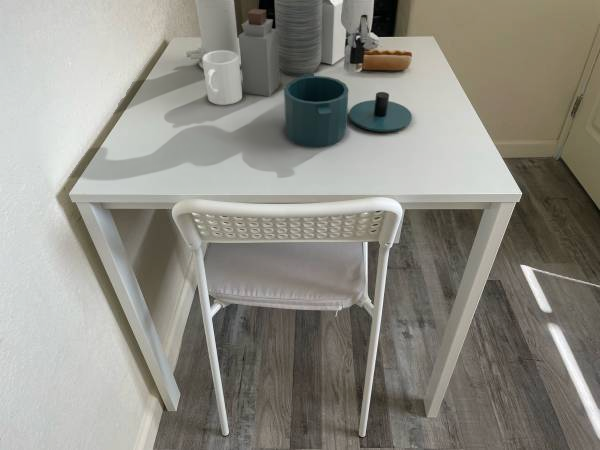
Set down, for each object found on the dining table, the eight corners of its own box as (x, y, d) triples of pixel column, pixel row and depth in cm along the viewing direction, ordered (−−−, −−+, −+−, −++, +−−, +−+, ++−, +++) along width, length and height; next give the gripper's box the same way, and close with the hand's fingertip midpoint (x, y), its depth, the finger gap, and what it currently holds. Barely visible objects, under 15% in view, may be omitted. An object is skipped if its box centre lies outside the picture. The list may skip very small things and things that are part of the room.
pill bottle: (360, 73, 110) (364, 41, 105) (342, 72, 110) (345, 39, 105) (362, 66, 113) (365, 34, 108) (344, 65, 114) (347, 33, 109)
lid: (358, 136, 95) (360, 112, 91) (342, 107, 105) (343, 83, 101) (420, 130, 97) (424, 106, 93) (399, 102, 107) (402, 79, 103)
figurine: (357, 45, 134) (358, 28, 131) (383, 49, 132) (385, 32, 128) (353, 50, 131) (354, 32, 128) (380, 54, 129) (382, 36, 126)
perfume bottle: (279, 84, 114) (276, 8, 102) (269, 96, 110) (265, 17, 98) (254, 81, 116) (249, 5, 104) (243, 92, 111) (236, 14, 99)
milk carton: (344, 56, 128) (348, -18, 115) (332, 65, 123) (335, -12, 111) (322, 52, 131) (324, -22, 118) (309, 60, 126) (310, -16, 114)
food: (408, 65, 123) (411, 46, 120) (411, 73, 119) (414, 54, 116) (356, 64, 124) (357, 46, 120) (357, 73, 119) (358, 53, 116)
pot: (292, 157, 89) (291, 112, 83) (280, 114, 103) (278, 73, 96) (355, 150, 91) (358, 106, 85) (335, 109, 104) (336, 68, 98)
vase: (305, 82, 115) (305, -18, 100) (268, 72, 120) (263, -25, 105) (329, 66, 123) (332, -29, 108) (293, 57, 128) (291, -35, 112)
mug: (195, 110, 104) (188, 68, 98) (216, 88, 113) (211, 48, 107) (228, 114, 103) (223, 72, 96) (247, 92, 111) (243, 51, 105)
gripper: (335, -34, 104) (330, 46, 116) (354, -14, 91) (346, 74, 103) (367, -35, 105) (359, 45, 117) (390, -15, 92) (378, 72, 104)
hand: (353, 58), depth 110 cm, fingers closed on pill bottle, 4 cm apart
